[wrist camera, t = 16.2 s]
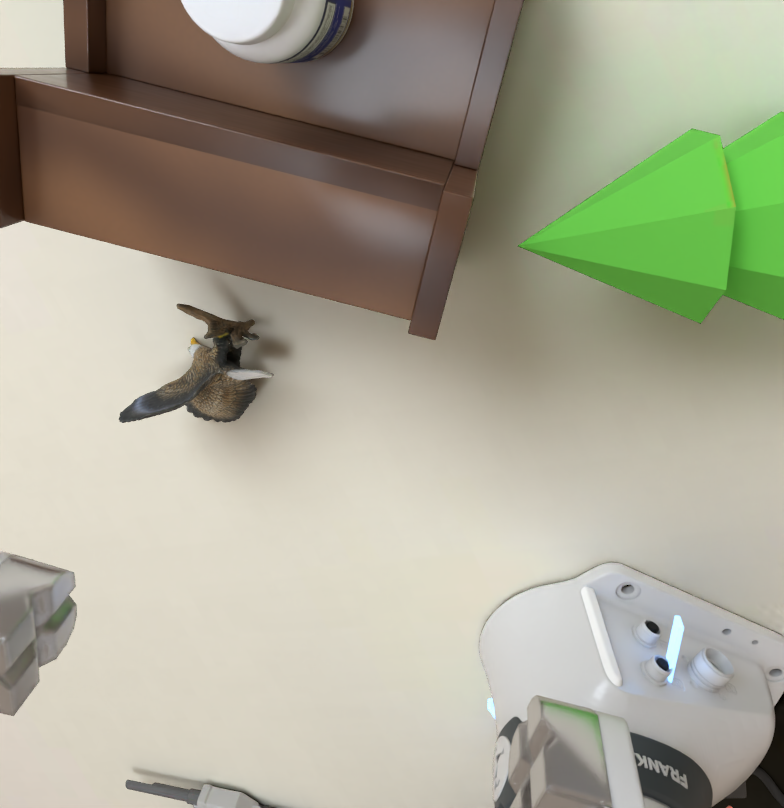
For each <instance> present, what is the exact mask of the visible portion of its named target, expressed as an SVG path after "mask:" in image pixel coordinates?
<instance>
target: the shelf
mask: <svg viewBox="0 0 784 808" xmlns="http://www.w3.org/2000/svg"><path fill="white" fill-rule="evenodd" d="M523 2H524V0H354V7H353V13H352V18H351V22H350V24H349V27H348V29H347V31H346V33H345V35H344V37H343V38H342V40H341V41H340V42H339V44H338V45H337V46H336V47H335V48H334V49H333V50H332V51H331V52H329V53H328V54H326V55H325V56H323V57H321V58H319V59H317V60H313V61H309V62H300V63H272V64H267V63H257V62H252V61H248V60H245V59H242V58H240V57H237V56H236V55H234V54H232V53H230V52H229V51H227V50H226V49H225V48H223V47H222V46H221V45H220V44H219V43H218V42H217V41H216V40H215V39H214V38H213V37H212V36H210V35H209V34H208V33H206V32H205V31H203V30H202V29H201V28H200V27H199V26H198V25H197V24H196V23H195V22H194V21H193V20H192V18H191V17H190V16H189V14H188V13H187V11H186V9H185V8H184V6H183V4H182V2H181V0H63V5H64V34H65V63H66V67H67V68H0V228H3V227H6V226H9V225H12V224H15V223H18V222H21V221H24V220H25V221H26V222H30V223H34V224H37V225H41V226H45V227H49V228H53V229H57V230H61V231H65V232H69V233H72V234H76V235H80V236H84V237H88V238H92V239H96V240H100V241H104V242H108V243H111V244H115V245H119V246H123V247H127V248H131V249H135V250H139V251H143V252H146V253H150V254H154V255H158V256H162V257H166V258H170V259H174V260H178V261H181V262H185V263H189V264H193V265H197V266H201V267H205V268H209V269H213V270H216V271H220V272H224V273H228V274H232V275H236V276H240V277H244V278H248V279H251V280H255V281H259V282H263V283H267V284H271V285H275V286H279V287H283V288H286V289H290V290H294V291H298V292H302V293H306V294H310V295H314V296H318V297H321V298H325V299H329V300H333V301H337V302H341V303H345V304H349V305H353V306H357V307H360V308H364V309H368V310H372V311H376V312H380V313H384V314H388V315H392V316H395V317H399V318H403V319H407V320H411V323H410V327H409V331H408V333H409V334H412V335H416V336H420V337H424V338H428V339H432V340H435V339H436V337H437V333H438V329H439V325H440V322H441V318H442V314H443V311H444V307H445V303H446V300H447V296H448V292H449V289H450V285H451V281H452V278H453V274H454V270H455V266H456V263H457V259H458V255H459V252H460V248H461V244H462V241H463V237H464V233H465V230H466V226H467V222H468V218H469V215H470V211H471V207H472V204H473V200H474V194H475V187H476V181H477V174H478V170H479V166H480V162H481V159H482V155H483V151H484V147H485V144H486V140H487V136H488V133H489V129H490V125H491V121H492V118H493V114H494V110H495V106H496V103H497V99H498V95H499V92H500V88H501V84H502V80H503V77H504V73H505V69H506V65H507V62H508V58H509V54H510V51H511V47H512V43H513V39H514V36H515V32H516V28H517V25H518V21H519V17H520V13H521V10H522V6H523Z"/></svg>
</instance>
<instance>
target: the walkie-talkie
mask: <svg viewBox="0 0 784 808" xmlns="http://www.w3.org/2000/svg"><path fill="white" fill-rule="evenodd" d="M126 788H127V789H131V790H135V791H140V792H144V793H149V794H154V795H158V796H163V797H168V798H172V799H177V800H182V801H186V802H187V803H188V804H192V805H193V807H194V808H272V807H268V806H263V805H258V802H256V801H255V800H253V799H251V798H250V797H248V796H247V795H245V794H244V793H242V792H237V791H232V790H228V789H223V788H218V787H214V786H212V785H209V784H204V785H203V788H202V790H196V789H190V790H188V789H183V788H179V787H174V786H169V785H165V784H160V783H154V784H152V785H151V784H146V783H141V782H136V781H131V780H127V781H126Z"/></svg>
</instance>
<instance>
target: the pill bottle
mask: <svg viewBox="0 0 784 808" xmlns="http://www.w3.org/2000/svg"><path fill="white" fill-rule="evenodd" d="M181 2H182V4H183V6H184V8H185V9H186V11H187V13H188V14H189V16H190V17H191V18H192V20H193V21H194V22H195V23H196V24H197V25H198V26H199V27H200V28H201V29H202V30H203V31H205V32H206V33H208V34H209V35H210V36H212V37H213V38H214V39H215V40H216V41H217V42H218V43H219V44H220V45H221V46H222V47H223V48H225V49H226V50H227V51H229V52H230V53H232V54H234V55H236V56H237V57H240V58H242V59H245V60H248V61H252V62H257V63H267V64H272V63H300V62H309V61H313V60H317V59H319V58H321V57H323V56H325V55H326V54H328V53H329V52H331V51H332V50H333V49H334V48H335V47H336V46H337V45H338V44H339V42H340V41H341V40H342V38H343V37H344V35H345V33H346V31H347V29H348V27H349V24H350V22H351V18H352V13H353V7H354V0H181Z"/></svg>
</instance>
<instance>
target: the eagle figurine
mask: <svg viewBox="0 0 784 808" xmlns="http://www.w3.org/2000/svg"><path fill="white" fill-rule="evenodd" d="M177 308H178V309H180V310H182V311H184V312H185V313H187V314H189V315H191V316H193V317H195V318H197V319H200V320H203V321H205V322H206V324H207V325H208V332H207V334H206V335H205V336H204V338H205V339H208V338H213V342H214V347H213V348H212V349H211V348H208V347H204V346H202V345H200V344H199V343H197V342H196V340H195V338H192V339H191V346H190V347H189V348H188V350H189V352H190V354H191V356H192V357H193V359H194V360H193V364H192V367H191V368H190V369H189V370H188V371H187V372H186V374H184V375H183V376H182V377H180V378H179V379H177V380H175V381H173V382H170V383H168V384H166V385H164V386H162V387H161V388H160V389H158V390H157V391H153V392H150V393H147V394H145V395H143V396H141V397H139V398H137V399H136V400H135V401H134V402H133V403H132V404H131V405H129V406H128V407H127V408H126V409H125V410H124V411H123V412H121V413H120V417H119V420H120V422H122V423H125V422H131V421H136V420H141V419H144V418H149V417H152V416H156V415H160V414H163V413H166V412H170V411H172V410H176V409H178V408H180V407H182V406H183V405H186V406H187V411H188V412H190V413H193V415H194V416H195V417H197V418H199V417H202V418H203V419H204V420H205V421H209V420H212V419H214V420H215V421H216V422H219V421H223V422H231V421H235V420H236V419H239V418H240V416H241V415H242V414H243V413H244V411H245V410H246V408H247V407H248V406H249V404H250V403H251V402H252V401H253V400H254V399H255V396H256V390H257V388H256V387H255V385H253V384H251V383H250V381H246V380H247V379H254V378H262V377H268V378H271V377H272V376H274V374H272V373H266V372H264V371H261V370H247V369H244V368H241V367H240V361H239V360H240V356H241V350H242V346H244V345H246V344H247V342H248V341H247V340H246V339H244V338H243V337H242V336H244V337H247V338H248V339H250V340H258V339H259V336H258V335H257V334H255V333H252V334H251V333H249V332H248V330H249V328H250V327H251V326H253V325H254V324H255V321H254V320H249V321H246V322H241V321H238V322H236V321H230V320H225V319H222V318H219V317H217V316H215V315H213V314H210V313H208V312H205V311H202V310H200V309H197V308H195V307H192V306H190V305H185V304H177ZM230 339H231V341H230ZM243 339H244V340H243ZM229 343H230V344H229Z"/></svg>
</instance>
